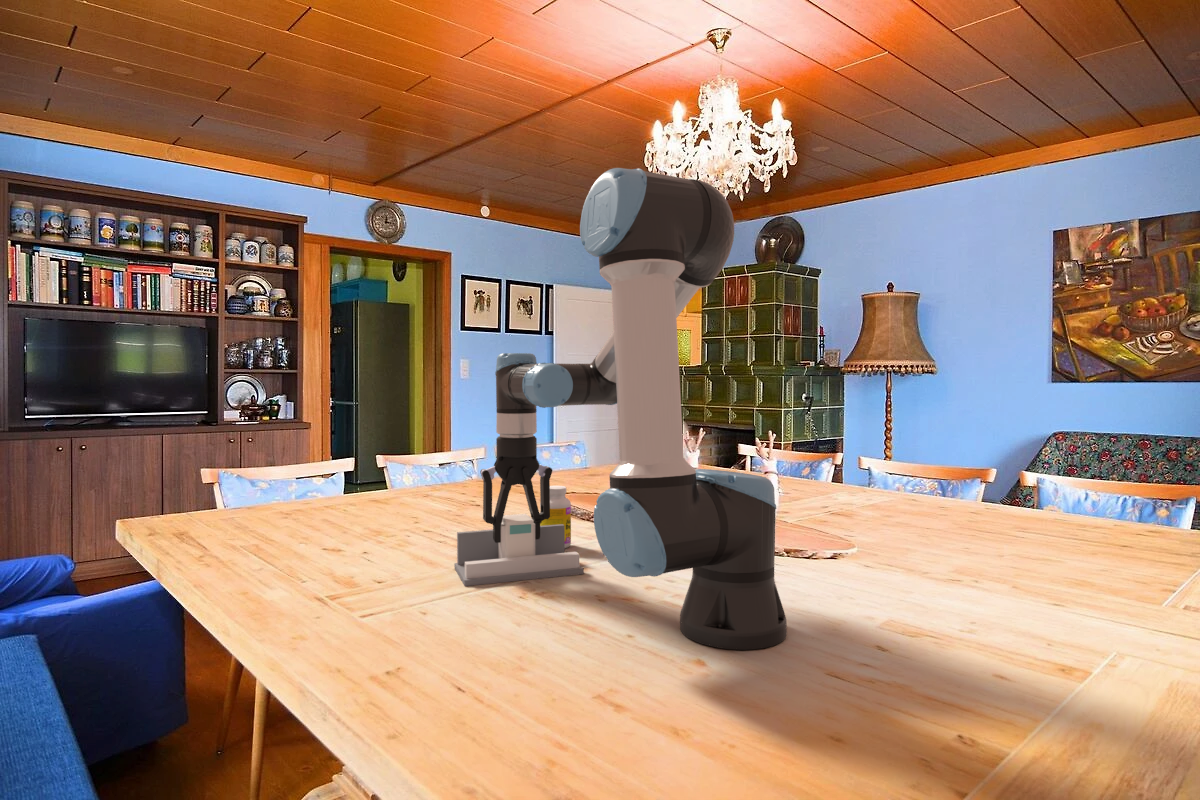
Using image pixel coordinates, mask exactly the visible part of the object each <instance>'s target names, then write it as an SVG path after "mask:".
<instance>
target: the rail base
mask: <svg viewBox="0 0 1200 800" xmlns="http://www.w3.org/2000/svg"><path fill="white" fill-rule="evenodd" d="M456 546H457V547H456V548H457V549H456V551H457V553H456V555H457V556H456V557H457V558H456V561H457V562H454V563H453V564H454V570H455V572H456V573H457V575H458V577H459V578H460V581H461V582H462V584H463V586H464V587H469V586H479V585H488V584H497V583H499V584H500V583H507V582H517V581H518V582H519V581H528V580H536V579H538V580H539V579H546V578H548V579H549V578H557V577H558V578H559V577H568V576H577V575H578V576H579V575H584V574H585V573H584V572H585V571H584V567H582V566H581V565H580V554H579V553H578V552H577V551H570V552H569V551H568V552H565V549H566V548H565V536H564V525H563V524H558V525H545V526H540V539H536V540H535V555H534V556H523V557H512V558H501V559H499V543H495V541H494V539H493V529H482V530H480V529H479V530H470V531H469V530H468V531H459V532H458V531H457V532H456Z"/></svg>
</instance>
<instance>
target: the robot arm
mask: <svg viewBox="0 0 1200 800" xmlns="http://www.w3.org/2000/svg"><path fill="white" fill-rule="evenodd" d="M579 234H580V235H579V236H580V241H581V244H582V246H583V247H584V250H585V251H586V252H587V253H588V254H590V255H591V256H593V257H594V258H597V257H598V263H599V264H598V265H599V266H598V267H599V274H600V277H602V278H603V279H604V280H605V281H606V282H607V283H608V284H610V286H611V301H612V303H611V304H612V322H613V323H612V324H613V325H612V327H613V331H612V332H611V334H610V335H609V337H608V338H607V340H606V341H605V342H604V344H603V346H602V348H600V350H599V352H598V354H597V355H596V356H595V358H593V360H592V362H590V363H555V362H540V363H537V357H536V355H535V354H534V353H530V352H529V353H528V352H521V353H520V352H510V353H507V352H502V353H499V355H497V357H496V366H495V367H496V368H495V372H494V373H495V374H494V375H495V388H496V389H495V391H496V392H495V393H496V394H495V398H496V401H495V403H496V429H495V430H496V433H497V434H498V435H499V436H497V437H496V441H495V442H496V443H495V444H496V447H495V448H496V452H495V453H496V455H495V456H496V457H495V458H496V459H495V461H494V463H493V466H491V467H488V468H482V469H480V473H479V474H480V475H481V478H482V481H483V487H482V488H483V493H482V496H483V497H482V499H483V500H482V507H483V508H482V511H483V512H482V519H483V521H484V522H485V523H487V524H491V525H492V530H493V539H494V541H495V543H499V559H501V558H505V525H504V524H503V523H502V519H503V515H505V511H506V507H507V503H508V499H509V495H510V492H511V489H512V486H517V485H520V486H521V485H522V487H523V490H524V495H525V497H526V502H527V506H528V509H529V513H530V518H532V519H533V520H534V555H535V540H536V539H540V523H541V522H542V521H543V520H545V519H549V518H550V486H551V485H550V479H551V476H552V474H553V468H552V467H550V466H548V465H542V464H540V463H539V461H538V458H537V456H538V455H537V454H538V453H537V452H538V451H537V450H538V449H537V447H538V445H537V443H538V442H537V437H536V436H535V434H536V433H537V428H538V427H537V426H538V425H537V424H538V423H537V421H538V420H537V411H538V410H537V409H538V408H537V407H539V408H542V409H543V408H544V409H545V408H555V407H560V406H561V407H562V406H563V407H564V406H565V407H566V406H582V405H583V406H589V405H591V406H593V405H595V406H596V405H598V406H601V405H603V406H604V405H605V406H614V405H616V404H617V405H616V406H617V424H618V425H617V428H618V446H619V448H618V449H619V450H618V451H619V462H618V464H617V465H616V466H615V467H614V469H612V471H611V472H610V473H609V488H608V489H606V490H604V492H603V491H602V492H601V493H600V494H599V496H598V497H597V500H596V504H595V505H594V509H593V525H594V531H595V535H596V539H597V543H598V545H599V547H600V550H601V552H602V554H603V555H604V557H606V560H607V562H608V564H610V565H611V566H612V568H613V569H615V570H616V571H617V572H619V573H620V574H622V575H624V576H625V577H631V578H640V577H649V576H650V577H658V576H662V575H663V574H668V573H672V572H677V571H683V570H689V569H692V575H691V576H692V577H691V580H690V583H689V586H688V588H687V592H686V595H685V598H684V601H683V604H682V607H681V609H680V615H679V617H680V618H679V623H680V625H679V630H680V632H681V633H682V634H683V636H685V637H686V638H687V639H690V640H691V641H693V642H695V643H699V644H702V645H705V646H709V647H714V648H719V649H724V650H736V651H737V650H739V651H740V650H744V651H746V650H749V651H750V650H760V649H764V648H770V647H773V646H776V645H779V644H780V643H782V642H783V641H784V640H785V639H786V638H787V633H788V632H787V628H788V627H787V615H786V613H785V610H784V607H783V603H782V600H781V597H780V594H779V591H778V588H777V584H776V580H775V556H776V555H775V552H776V551H775V549H776V545H775V544H776V510H777V505H776V501H775V499H776V498H775V487H774V485H773V483H772V481H771V480H770V479H769V478H767V477H765V476H762V475H758V474H751V473H745V472H736V471H729V470H719V469H710V468H708V469H707V468H696V469H695V468H694V467H693V466H692V465H691V464H690V463H688V462H687V460H686V458H685V457H684V439H683V438H684V437H683V436H684V435H683V417H682V402H681V399H682V398H681V397H682V396H681V383H680V382H681V381H680V380H681V379H680V365H679V364H680V362H679V361H680V360H679V342H678V341H679V340H678V324H677V321H678V320H677V318H678V317H679V316H680V315H681V313H682V311H683V310H684V309H685V308H686V307H687V305H688V304H689V302H691V300H692V298H693V297H694V296H695V295H696V293H697V292H698V291H699V289H700V288H706V287H708V286H710V285H711V284H712V283H713V282H714V280H715V279H716V278H717V277H718V275H719V274H720V272H721V271H722V270H723V268H724V266H725V264H726V262H727V260H728V258H729V256H730V253H731V251H732V247H733V243H734V240H735V220H734V215H733V212H732V209H731V207H730V205H729V202H728V200H727V198H726V197H725V196H724V195H723V194H722V193H721V191H719V190H718V189H717V188H716V187H715V186H713V185H712V184H709V183H707V182H705V181H702V180H700V179H691V178H684V177H678V176H673V175H667V174H663V173H662V174H661V173H656V172H651V171H645V170H643V169H641V168H633V169H632V168H631V169H630V168H623V167H613V168H609V169H608V170H606V171H604V172H603V173H602V174H601V175H600V176H599V177H598V178H597V179H596V180H595V181H594V183H593V185H591V187H590V189H589V191H588V194H587V196H586V198H585V200H584V203H583V206H582V209H581V217H580V222H579ZM537 471H538V476H539V477H540V478H539V484H540V485H539V487H540V488H539V490H540V492H539V495H540V496H539V497H540V500H539V501H540V503H539V506H540V505H541V513H540V509H539V506H538V502H537V499H536V496H535V492H534V486H533V481H532V479H533V478H534V476H535V474H536V473H537ZM495 474H497V475H498V476H499V478H500V479H501V482H500V489H499V493H498V496H497V497H498V498H497V501H496V505H495V510H494V514H493V481H492V480H494V479H495Z"/></svg>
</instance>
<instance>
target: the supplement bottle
mask: <svg viewBox="0 0 1200 800" xmlns="http://www.w3.org/2000/svg"><path fill="white" fill-rule="evenodd" d="M566 495H567V487H566V486H564V485H550V518H549V519H545V520H543V521H542V522H541V523H540V526H545V525H558V524H563V525H564V536H565V549H568V548H569V547H570V546H571V545H572V544H571V543H572V504H571V500H569V498H567V497H566ZM539 513H541V505H540V504H539Z"/></svg>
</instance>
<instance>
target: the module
mask: <svg viewBox="0 0 1200 800" xmlns="http://www.w3.org/2000/svg"><path fill="white" fill-rule="evenodd" d="M502 523H503V524H504V525H505V558H512V557H523V556H534V520H533V519H532V518H531V516H529V515H528V514H527V513H518V514H517V513H516V514H504V515H503V519H502Z"/></svg>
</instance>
